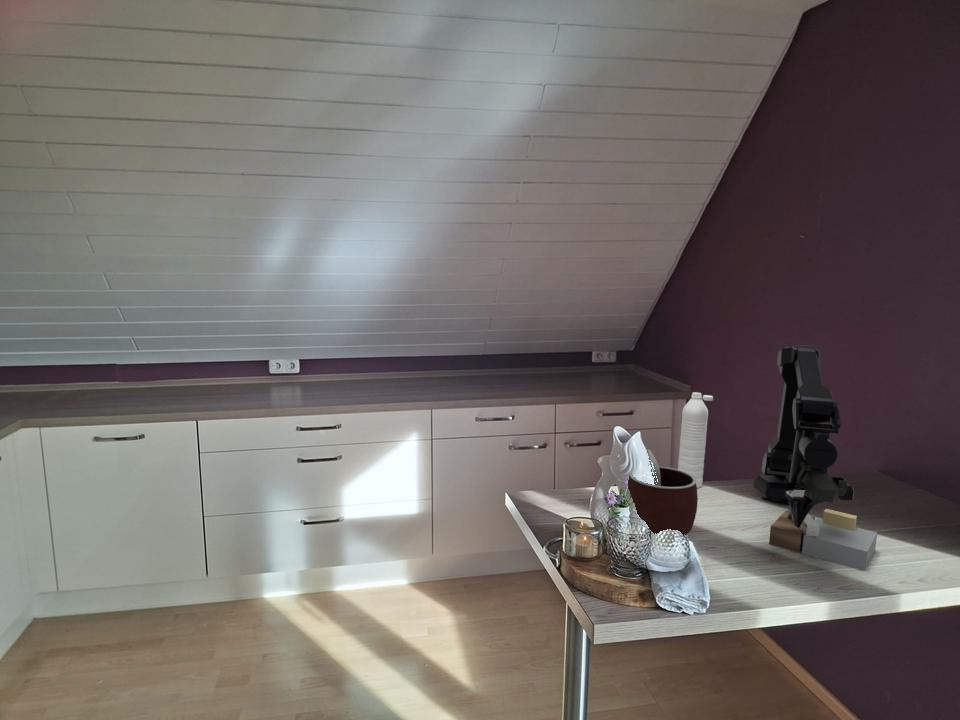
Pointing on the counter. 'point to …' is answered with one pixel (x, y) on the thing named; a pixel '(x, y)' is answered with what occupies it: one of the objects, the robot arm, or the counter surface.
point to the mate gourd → (665, 499)
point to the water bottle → (694, 437)
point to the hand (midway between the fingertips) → (797, 526)
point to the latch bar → (807, 525)
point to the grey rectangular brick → (841, 541)
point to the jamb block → (786, 534)
